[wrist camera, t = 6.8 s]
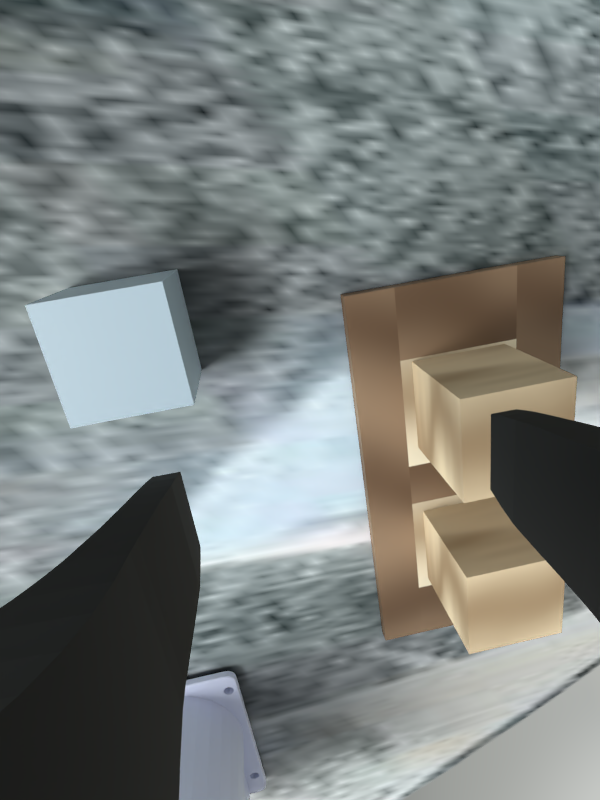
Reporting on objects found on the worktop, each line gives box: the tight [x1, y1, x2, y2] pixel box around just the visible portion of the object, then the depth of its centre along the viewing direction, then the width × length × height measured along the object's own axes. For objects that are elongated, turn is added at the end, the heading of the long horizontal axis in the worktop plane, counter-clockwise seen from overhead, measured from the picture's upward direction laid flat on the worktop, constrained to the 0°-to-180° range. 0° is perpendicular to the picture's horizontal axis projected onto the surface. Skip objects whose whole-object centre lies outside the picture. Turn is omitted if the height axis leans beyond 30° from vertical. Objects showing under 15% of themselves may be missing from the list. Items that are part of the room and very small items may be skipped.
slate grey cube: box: [25, 269, 202, 428], centre depth 17 cm, size 4×4×4 cm
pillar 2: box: [423, 497, 565, 654], centre depth 21 cm, size 4×4×4 cm
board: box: [341, 256, 565, 640], centre depth 22 cm, size 18×9×1 cm, turn 9°
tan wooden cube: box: [412, 344, 577, 503], centre depth 18 cm, size 4×4×4 cm
